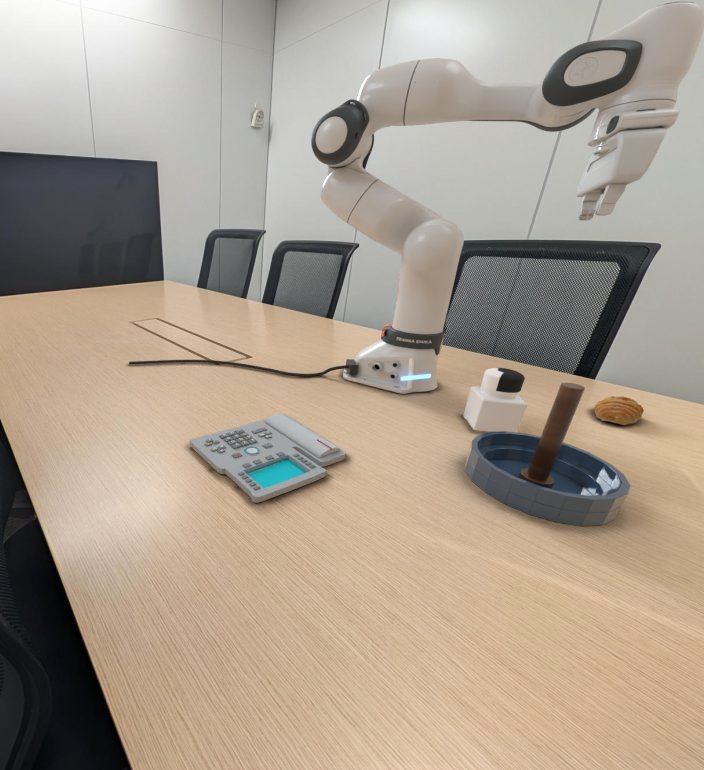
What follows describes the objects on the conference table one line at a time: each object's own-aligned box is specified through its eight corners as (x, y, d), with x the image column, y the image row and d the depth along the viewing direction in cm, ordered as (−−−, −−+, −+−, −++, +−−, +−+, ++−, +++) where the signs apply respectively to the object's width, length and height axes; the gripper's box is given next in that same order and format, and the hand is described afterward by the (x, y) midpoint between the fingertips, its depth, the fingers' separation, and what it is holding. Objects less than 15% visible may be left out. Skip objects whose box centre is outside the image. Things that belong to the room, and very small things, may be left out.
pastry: (636, 431, 72) (644, 414, 71) (587, 419, 77) (594, 403, 76) (640, 417, 78) (648, 400, 76) (594, 406, 83) (601, 390, 81)
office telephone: (284, 407, 80) (362, 451, 64) (283, 418, 81) (359, 464, 65) (188, 433, 71) (251, 493, 54) (189, 445, 72) (250, 507, 55)
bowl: (463, 498, 56) (472, 471, 54) (464, 445, 69) (471, 422, 67) (633, 549, 47) (651, 517, 45) (597, 476, 60) (609, 450, 58)
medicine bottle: (502, 420, 78) (520, 366, 73) (516, 437, 72) (537, 379, 67) (462, 416, 80) (477, 363, 75) (473, 432, 74) (490, 375, 69)
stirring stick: (518, 486, 57) (556, 387, 51) (516, 473, 60) (551, 378, 54) (553, 496, 55) (597, 393, 49) (548, 481, 58) (589, 383, 52)
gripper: (582, 146, 74) (555, 222, 78) (625, 112, 57) (588, 211, 62) (627, 143, 71) (596, 222, 75) (686, 107, 54) (642, 211, 59)
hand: (593, 217), depth 69 cm, fingers open, 8 cm apart
